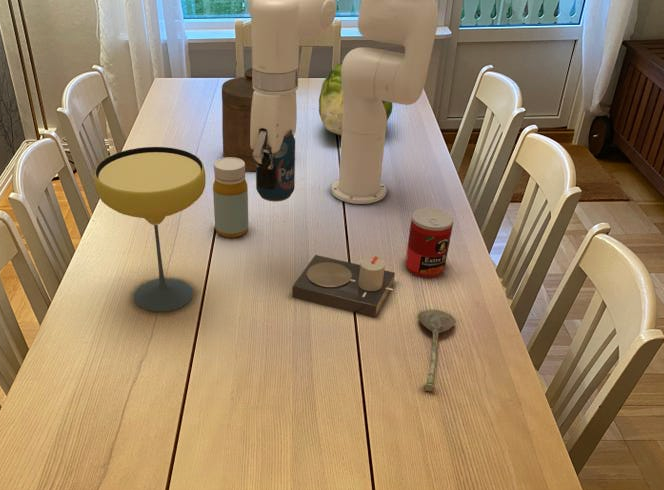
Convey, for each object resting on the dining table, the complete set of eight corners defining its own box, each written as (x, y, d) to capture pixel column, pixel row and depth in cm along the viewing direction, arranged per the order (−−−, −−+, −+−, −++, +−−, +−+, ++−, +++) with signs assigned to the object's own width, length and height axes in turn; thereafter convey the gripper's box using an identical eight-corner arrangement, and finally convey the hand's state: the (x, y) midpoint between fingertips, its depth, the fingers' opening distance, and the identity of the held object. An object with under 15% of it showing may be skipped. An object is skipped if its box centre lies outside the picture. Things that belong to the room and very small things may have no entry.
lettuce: (298, 142, 190) (305, 78, 176) (337, 103, 203) (346, 41, 190) (364, 167, 185) (376, 103, 171) (399, 125, 198) (413, 63, 184)
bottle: (244, 240, 149) (242, 172, 139) (211, 237, 150) (207, 169, 140) (251, 224, 154) (250, 157, 144) (220, 221, 155) (216, 155, 146)
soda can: (287, 205, 127) (288, 140, 120) (250, 200, 129) (249, 135, 121) (299, 189, 132) (300, 125, 125) (263, 183, 134) (263, 120, 127)
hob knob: (378, 293, 129) (381, 270, 126) (355, 288, 130) (357, 265, 127) (385, 281, 132) (388, 258, 129) (362, 276, 134) (364, 253, 131)
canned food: (421, 282, 137) (429, 230, 130) (396, 262, 142) (403, 212, 135) (453, 272, 139) (462, 221, 133) (427, 253, 145) (436, 203, 138)
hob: (292, 297, 133) (292, 285, 131) (314, 265, 141) (315, 253, 140) (382, 319, 127) (383, 306, 126) (400, 285, 136) (402, 273, 134)
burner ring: (316, 259, 138) (316, 258, 138) (357, 269, 136) (357, 267, 135) (300, 281, 132) (300, 280, 132) (343, 292, 130) (343, 290, 129)
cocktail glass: (124, 268, 140) (106, 145, 124) (216, 270, 140) (210, 146, 124) (105, 323, 126) (81, 192, 110) (207, 325, 126) (198, 194, 110)
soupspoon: (455, 319, 129) (418, 315, 130) (457, 303, 127) (420, 299, 128) (448, 395, 112) (406, 389, 113) (451, 378, 110) (408, 372, 111)
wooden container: (282, 172, 174) (283, 79, 160) (221, 171, 174) (217, 79, 161) (282, 147, 186) (283, 59, 172) (225, 147, 186) (221, 58, 172)
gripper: (275, 59, 125) (275, 156, 136) (231, 92, 112) (235, 195, 124) (315, 65, 122) (312, 163, 134) (275, 99, 110) (275, 204, 122)
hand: (275, 178), depth 129 cm, fingers closed on soda can, 7 cm apart
